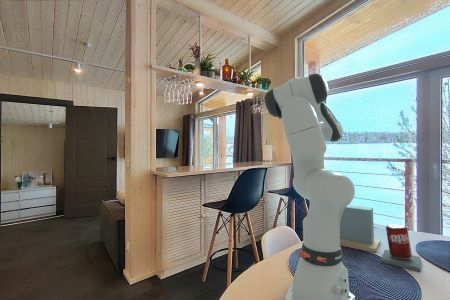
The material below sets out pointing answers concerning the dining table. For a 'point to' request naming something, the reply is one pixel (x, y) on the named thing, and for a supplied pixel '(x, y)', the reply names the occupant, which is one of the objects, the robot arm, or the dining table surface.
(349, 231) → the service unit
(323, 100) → the robot arm
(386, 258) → the pad
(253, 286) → the dining table surface
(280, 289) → the dining table surface
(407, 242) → the soda can
